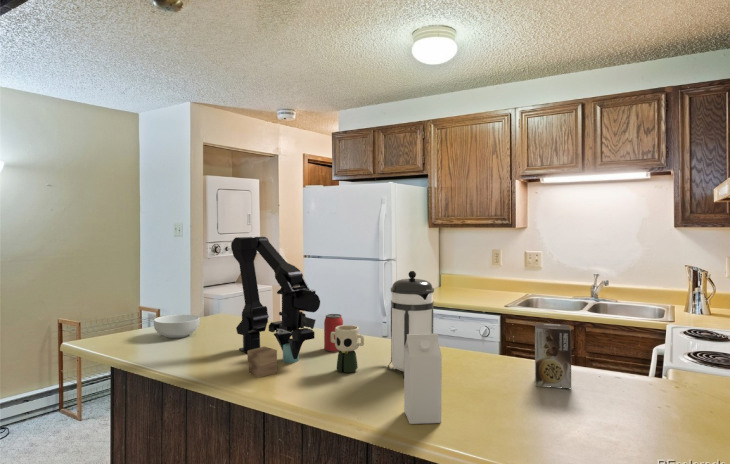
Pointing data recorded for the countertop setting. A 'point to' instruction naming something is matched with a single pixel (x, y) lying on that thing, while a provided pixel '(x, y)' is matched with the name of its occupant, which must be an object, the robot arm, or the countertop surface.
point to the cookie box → (552, 355)
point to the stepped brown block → (262, 356)
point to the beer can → (331, 330)
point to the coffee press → (409, 314)
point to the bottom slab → (263, 369)
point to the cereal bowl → (176, 325)
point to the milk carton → (422, 378)
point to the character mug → (347, 346)
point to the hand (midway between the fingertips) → (290, 357)
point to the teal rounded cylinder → (288, 354)
